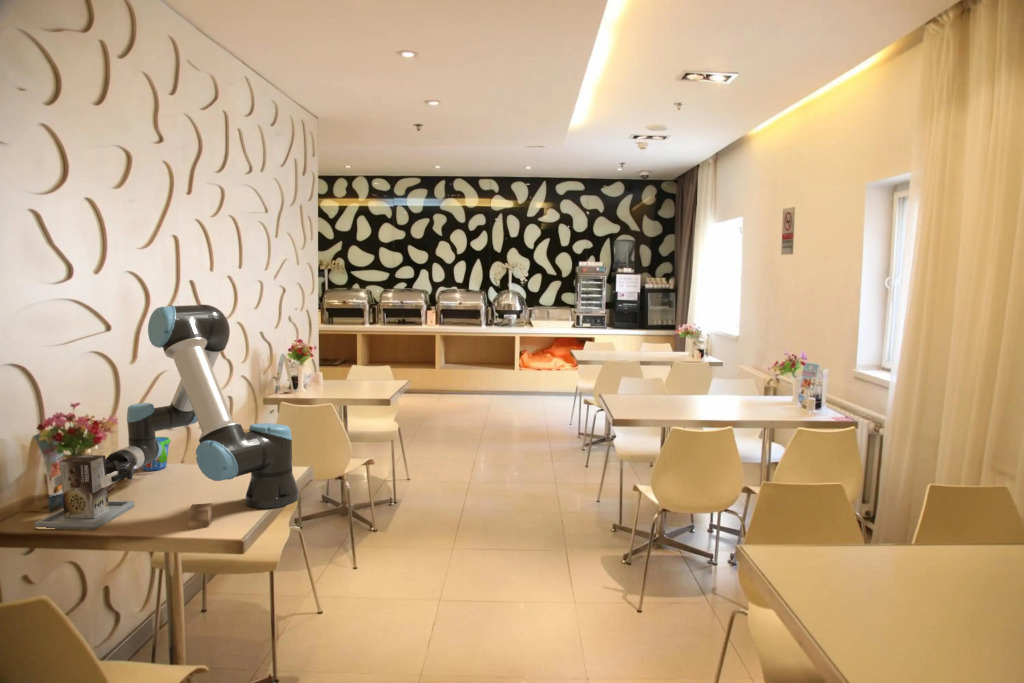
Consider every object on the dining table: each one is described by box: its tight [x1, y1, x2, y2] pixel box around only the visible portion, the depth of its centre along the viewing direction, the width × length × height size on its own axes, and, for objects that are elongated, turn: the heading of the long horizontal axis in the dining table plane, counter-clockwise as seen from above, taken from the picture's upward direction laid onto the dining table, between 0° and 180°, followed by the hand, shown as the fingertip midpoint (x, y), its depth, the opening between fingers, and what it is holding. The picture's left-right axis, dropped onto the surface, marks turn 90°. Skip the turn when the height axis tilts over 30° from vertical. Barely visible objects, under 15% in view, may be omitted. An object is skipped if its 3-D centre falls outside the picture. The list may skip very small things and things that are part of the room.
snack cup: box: [141, 436, 171, 472], centre depth 234 cm, size 16×10×10 cm
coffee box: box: [59, 454, 109, 518], centre depth 185 cm, size 9×6×16 cm
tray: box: [33, 500, 135, 531], centre depth 186 cm, size 16×18×2 cm
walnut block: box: [187, 502, 214, 529], centre depth 181 cm, size 5×5×5 cm
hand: (77, 482), depth 182 cm, fingers open, 13 cm apart
